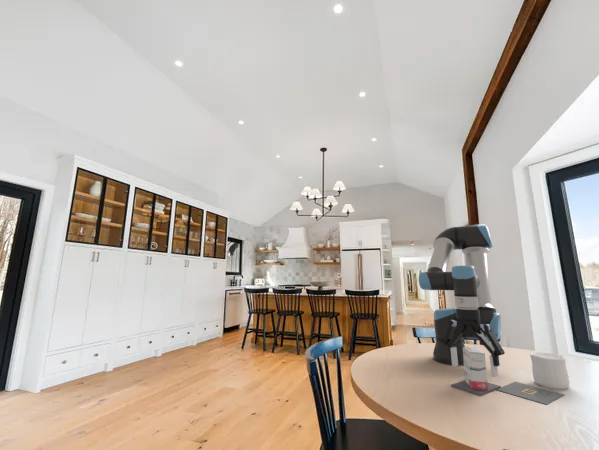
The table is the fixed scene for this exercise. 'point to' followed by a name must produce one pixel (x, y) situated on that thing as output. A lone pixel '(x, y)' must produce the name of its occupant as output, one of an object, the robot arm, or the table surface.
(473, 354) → the ink box
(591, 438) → the table surface
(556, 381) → the cup
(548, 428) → the table surface
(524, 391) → the slate mat
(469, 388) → the felt pad
